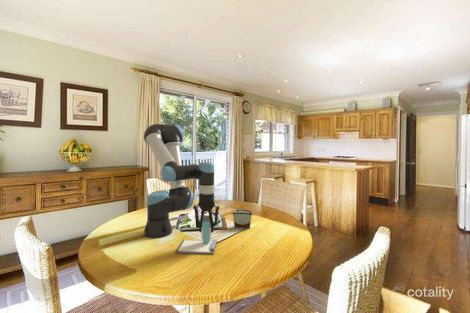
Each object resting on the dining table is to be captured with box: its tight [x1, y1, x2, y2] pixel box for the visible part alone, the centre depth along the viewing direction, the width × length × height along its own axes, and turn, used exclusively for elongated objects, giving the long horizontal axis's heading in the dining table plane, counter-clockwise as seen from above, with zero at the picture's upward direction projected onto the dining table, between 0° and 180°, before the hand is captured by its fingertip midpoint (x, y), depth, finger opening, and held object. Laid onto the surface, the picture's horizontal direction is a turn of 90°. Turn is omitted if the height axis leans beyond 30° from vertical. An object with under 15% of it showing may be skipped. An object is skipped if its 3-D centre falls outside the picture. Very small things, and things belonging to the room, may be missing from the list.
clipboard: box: [174, 239, 218, 256], centre depth 118 cm, size 18×14×2 cm
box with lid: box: [202, 214, 211, 243], centre depth 121 cm, size 3×3×13 cm
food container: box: [231, 208, 253, 229], centre depth 146 cm, size 12×6×10 cm, turn 84°
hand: (206, 238), depth 121 cm, fingers closed on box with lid, 3 cm apart
